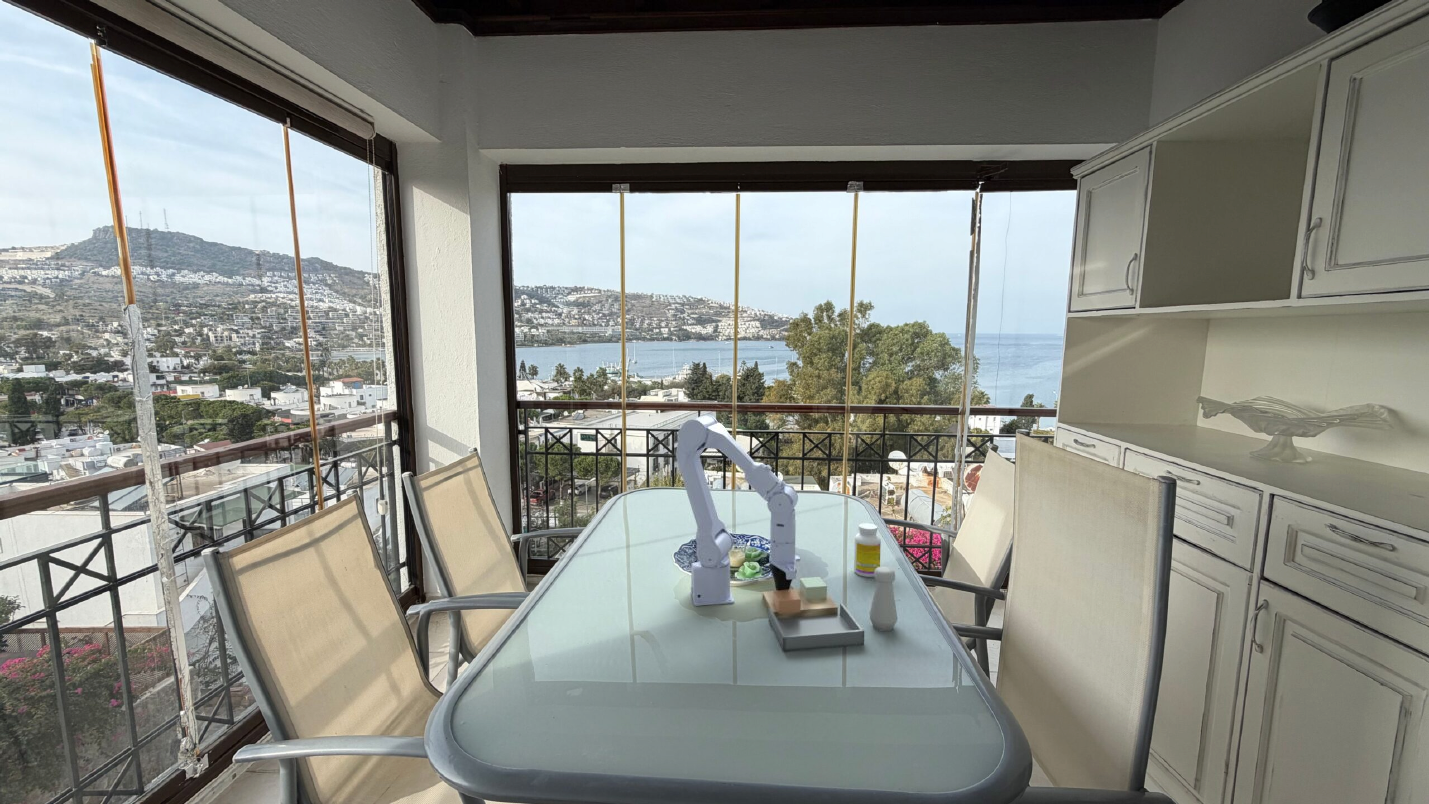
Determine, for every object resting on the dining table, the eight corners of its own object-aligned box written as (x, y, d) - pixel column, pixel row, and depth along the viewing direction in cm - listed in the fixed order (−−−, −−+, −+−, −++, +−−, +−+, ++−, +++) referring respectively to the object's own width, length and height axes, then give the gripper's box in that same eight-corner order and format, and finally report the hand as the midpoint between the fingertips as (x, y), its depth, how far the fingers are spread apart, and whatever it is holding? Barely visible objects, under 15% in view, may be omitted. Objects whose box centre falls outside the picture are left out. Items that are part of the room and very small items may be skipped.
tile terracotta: (778, 613, 122) (778, 600, 122) (772, 603, 127) (772, 590, 127) (800, 612, 123) (800, 599, 123) (794, 601, 128) (794, 589, 127)
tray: (783, 651, 111) (783, 637, 111) (768, 621, 123) (768, 608, 122) (864, 644, 113) (864, 630, 113) (842, 616, 125) (842, 603, 125)
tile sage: (806, 599, 129) (806, 587, 128) (799, 590, 134) (799, 578, 133) (826, 598, 129) (826, 586, 129) (819, 588, 134) (819, 576, 134)
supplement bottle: (882, 578, 145) (884, 530, 143) (857, 578, 145) (858, 530, 143) (875, 567, 151) (877, 522, 150) (851, 567, 152) (852, 521, 150)
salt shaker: (898, 634, 117) (900, 575, 116) (870, 632, 118) (871, 573, 117) (895, 621, 123) (897, 564, 121) (868, 618, 124) (869, 562, 122)
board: (772, 620, 123) (772, 612, 123) (762, 599, 133) (762, 591, 133) (837, 615, 125) (837, 607, 125) (822, 595, 135) (822, 587, 135)
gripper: (809, 550, 120) (808, 609, 122) (790, 527, 135) (790, 581, 136) (778, 552, 119) (777, 612, 121) (762, 529, 134) (762, 583, 135)
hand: (782, 596), depth 128 cm, fingers closed
